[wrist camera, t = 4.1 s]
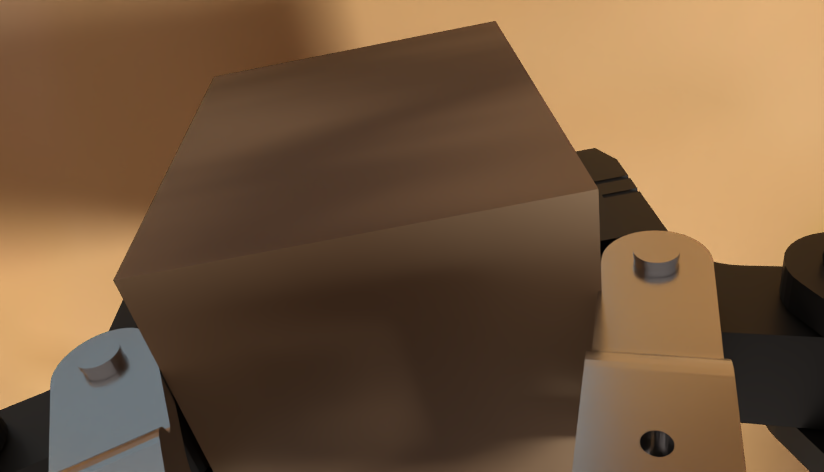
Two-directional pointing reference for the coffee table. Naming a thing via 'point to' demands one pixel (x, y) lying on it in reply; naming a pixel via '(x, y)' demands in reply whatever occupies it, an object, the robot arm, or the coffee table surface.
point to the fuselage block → (374, 265)
